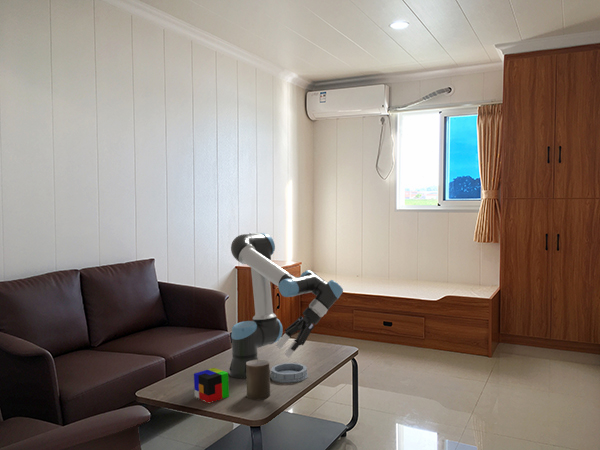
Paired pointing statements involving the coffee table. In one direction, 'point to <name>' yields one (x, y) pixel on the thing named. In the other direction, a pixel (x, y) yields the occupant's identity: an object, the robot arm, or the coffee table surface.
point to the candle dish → (289, 372)
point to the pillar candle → (258, 379)
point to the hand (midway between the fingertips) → (281, 351)
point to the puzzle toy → (211, 384)
